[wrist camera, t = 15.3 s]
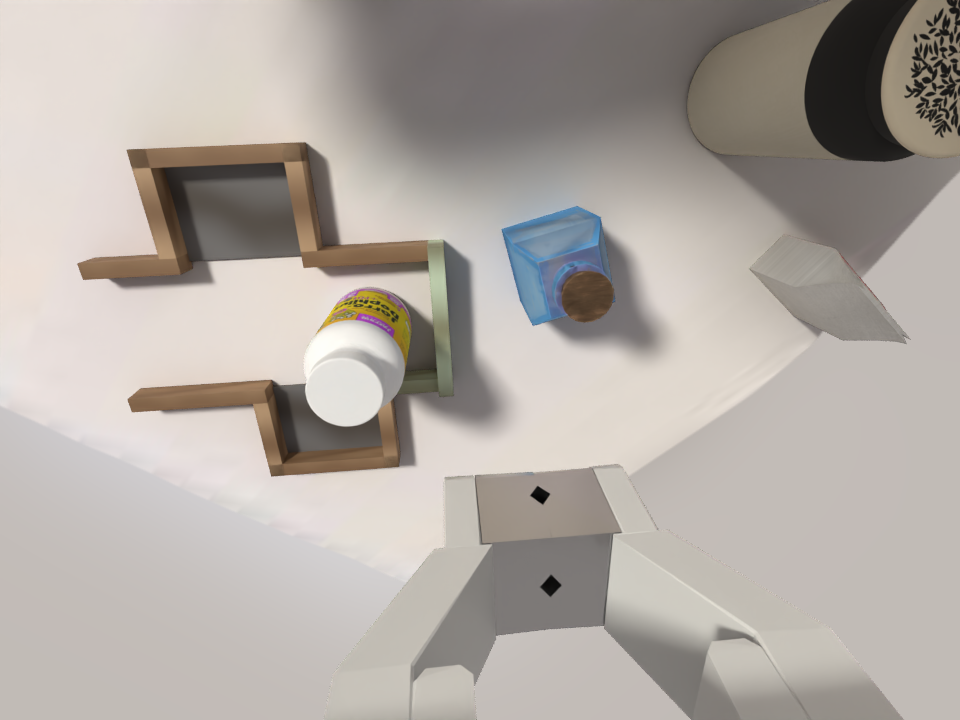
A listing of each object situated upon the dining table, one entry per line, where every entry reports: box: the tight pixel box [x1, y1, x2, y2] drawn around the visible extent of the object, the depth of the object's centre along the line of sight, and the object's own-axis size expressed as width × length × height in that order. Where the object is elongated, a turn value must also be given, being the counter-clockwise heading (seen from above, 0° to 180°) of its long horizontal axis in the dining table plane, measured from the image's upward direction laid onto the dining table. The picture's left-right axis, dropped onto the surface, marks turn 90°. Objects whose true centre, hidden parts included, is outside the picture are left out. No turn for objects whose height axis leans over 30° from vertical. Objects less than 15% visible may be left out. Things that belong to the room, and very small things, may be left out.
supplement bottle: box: [304, 287, 412, 426], centre depth 36 cm, size 7×7×13 cm
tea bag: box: [749, 235, 910, 343], centre depth 38 cm, size 4×7×10 cm, turn 49°
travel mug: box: [687, 0, 960, 162], centre depth 28 cm, size 8×8×18 cm
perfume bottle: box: [502, 206, 615, 326], centre depth 35 cm, size 6×6×12 cm
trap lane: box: [78, 143, 454, 476], centre depth 40 cm, size 27×27×3 cm
